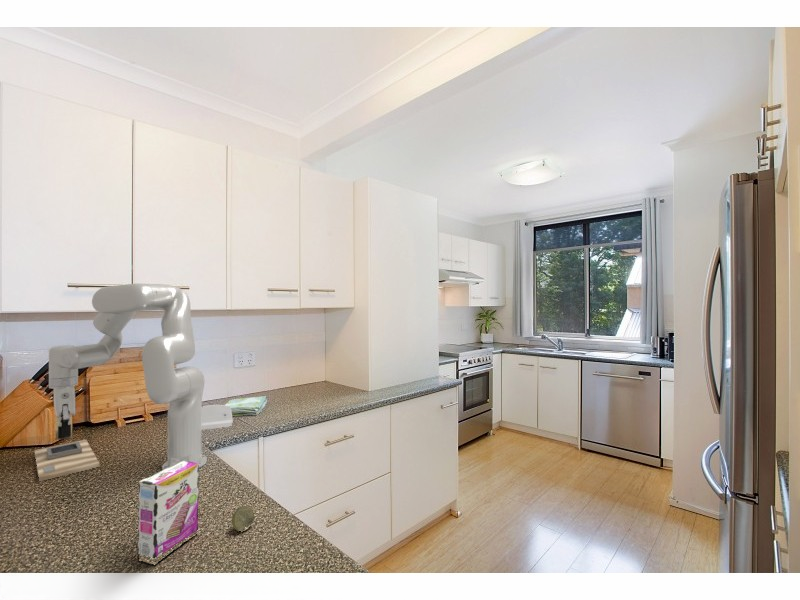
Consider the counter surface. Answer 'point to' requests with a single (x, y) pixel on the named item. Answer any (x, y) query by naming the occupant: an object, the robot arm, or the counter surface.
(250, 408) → the towel
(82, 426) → the counter surface
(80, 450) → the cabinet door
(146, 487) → the candy bar box
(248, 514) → the lime
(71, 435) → the hinge barrel
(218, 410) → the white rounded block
